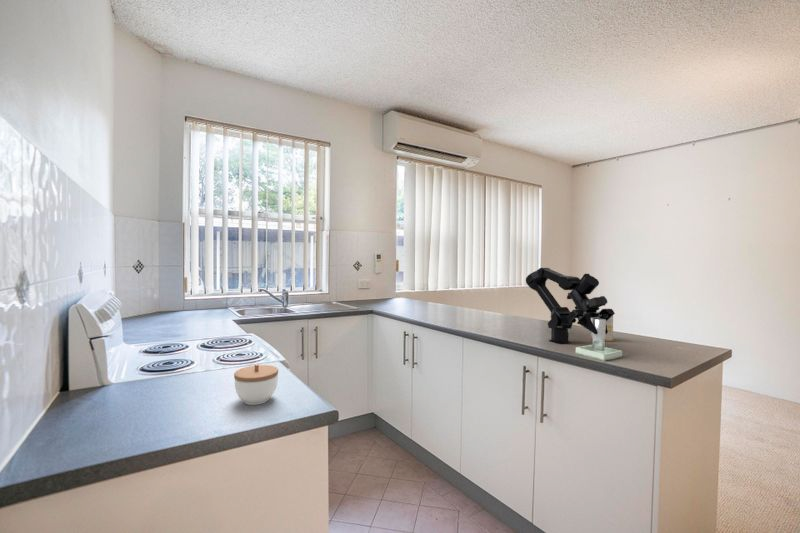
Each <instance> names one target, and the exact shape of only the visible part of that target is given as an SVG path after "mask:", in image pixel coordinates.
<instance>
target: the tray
mask: <svg viewBox="0 0 800 533" xmlns="http://www.w3.org/2000/svg"><path fill="white" fill-rule="evenodd" d="M575 354H576V355H579V356H583V357H587V358H590V359H594V360H598V361H601V362H607V360H608V361H612V360H616V359H621V358H623V350H620V349H615V348H611V347H607V346H605V351H597V350H593V349H592V344H587V345H583V346H581V345H580V346H576V347H575Z"/></svg>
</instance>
